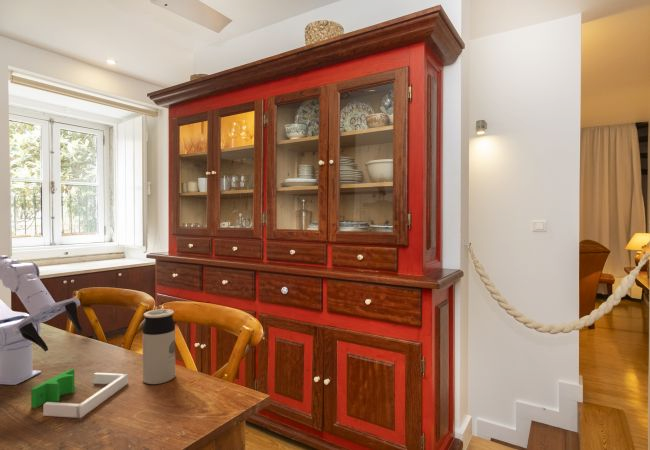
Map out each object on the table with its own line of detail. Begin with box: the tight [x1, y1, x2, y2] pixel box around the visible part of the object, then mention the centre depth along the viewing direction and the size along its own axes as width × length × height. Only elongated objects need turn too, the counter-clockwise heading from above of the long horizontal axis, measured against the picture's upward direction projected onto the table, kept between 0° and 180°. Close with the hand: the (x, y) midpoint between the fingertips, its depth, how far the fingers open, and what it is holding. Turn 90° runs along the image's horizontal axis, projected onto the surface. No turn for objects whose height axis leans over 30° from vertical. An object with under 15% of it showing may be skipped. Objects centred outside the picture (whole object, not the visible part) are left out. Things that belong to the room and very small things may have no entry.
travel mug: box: [142, 308, 176, 385], centre depth 100 cm, size 8×8×18 cm
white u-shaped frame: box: [42, 372, 129, 419], centre depth 89 cm, size 9×17×2 cm, turn 175°
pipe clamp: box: [30, 368, 75, 409], centre depth 90 cm, size 11×4×5 cm, turn 173°
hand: (63, 339), depth 92 cm, fingers open, 7 cm apart
